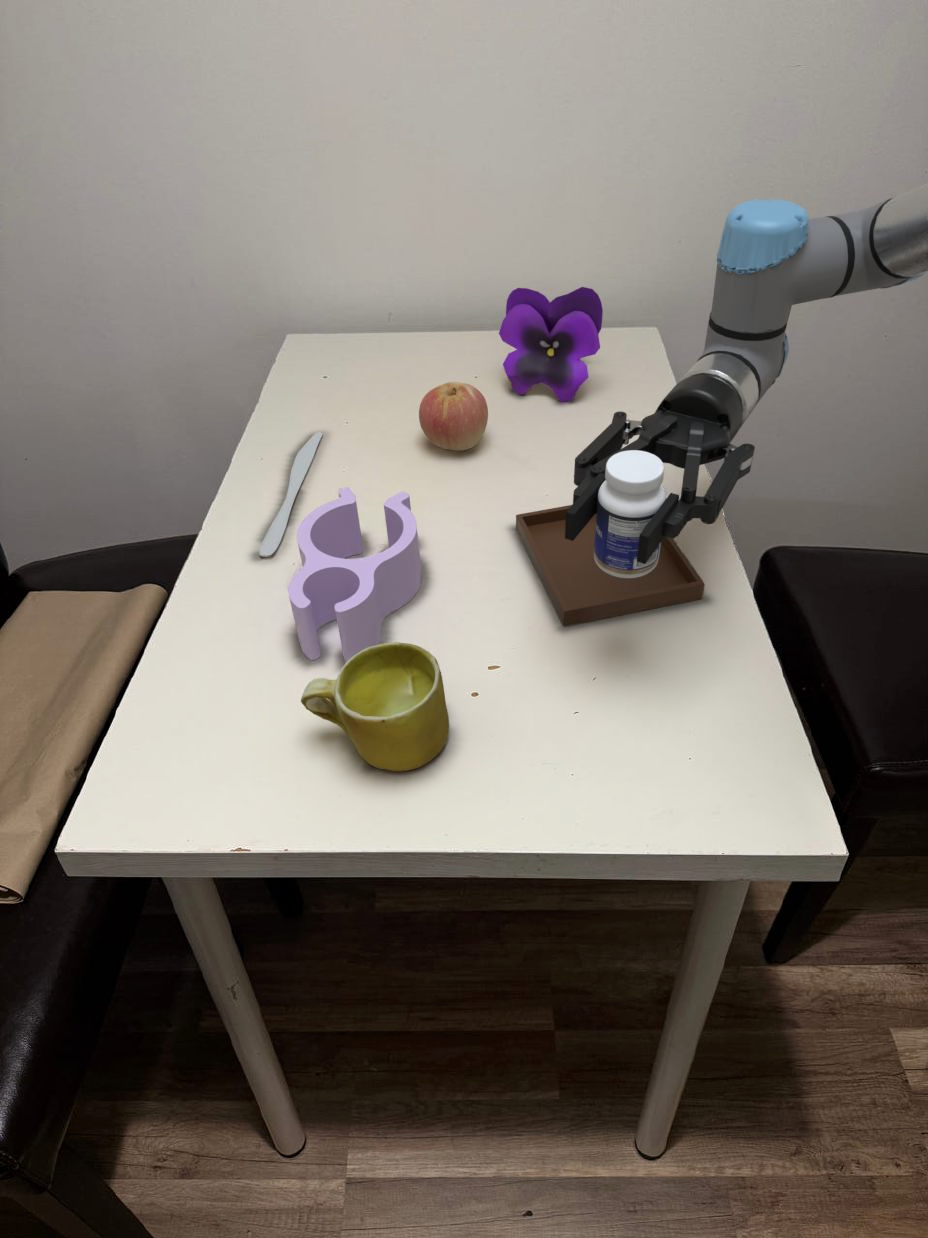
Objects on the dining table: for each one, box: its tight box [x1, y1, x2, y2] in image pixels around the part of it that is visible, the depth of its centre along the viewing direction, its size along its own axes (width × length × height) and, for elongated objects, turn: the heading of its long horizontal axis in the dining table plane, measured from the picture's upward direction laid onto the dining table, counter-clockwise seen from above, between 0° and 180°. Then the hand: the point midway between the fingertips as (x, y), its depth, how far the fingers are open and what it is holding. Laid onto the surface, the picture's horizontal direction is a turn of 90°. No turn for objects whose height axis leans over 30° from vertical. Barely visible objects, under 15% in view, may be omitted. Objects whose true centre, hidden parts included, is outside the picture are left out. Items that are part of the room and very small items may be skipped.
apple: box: [418, 381, 489, 451], centre depth 115 cm, size 9×9×8 cm
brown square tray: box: [515, 504, 706, 627], centre depth 97 cm, size 17×15×2 cm
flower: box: [498, 286, 604, 403], centre depth 127 cm, size 15×15×14 cm
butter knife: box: [258, 431, 323, 558], centre depth 110 cm, size 1×27×3 cm
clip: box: [287, 487, 423, 664], centre depth 93 cm, size 20×12×7 cm, turn 169°
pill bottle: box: [594, 450, 667, 578], centre depth 76 cm, size 6×6×10 cm
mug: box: [300, 641, 450, 772], centre depth 78 cm, size 12×10×10 cm
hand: (605, 537), depth 72 cm, fingers closed on pill bottle, 6 cm apart
